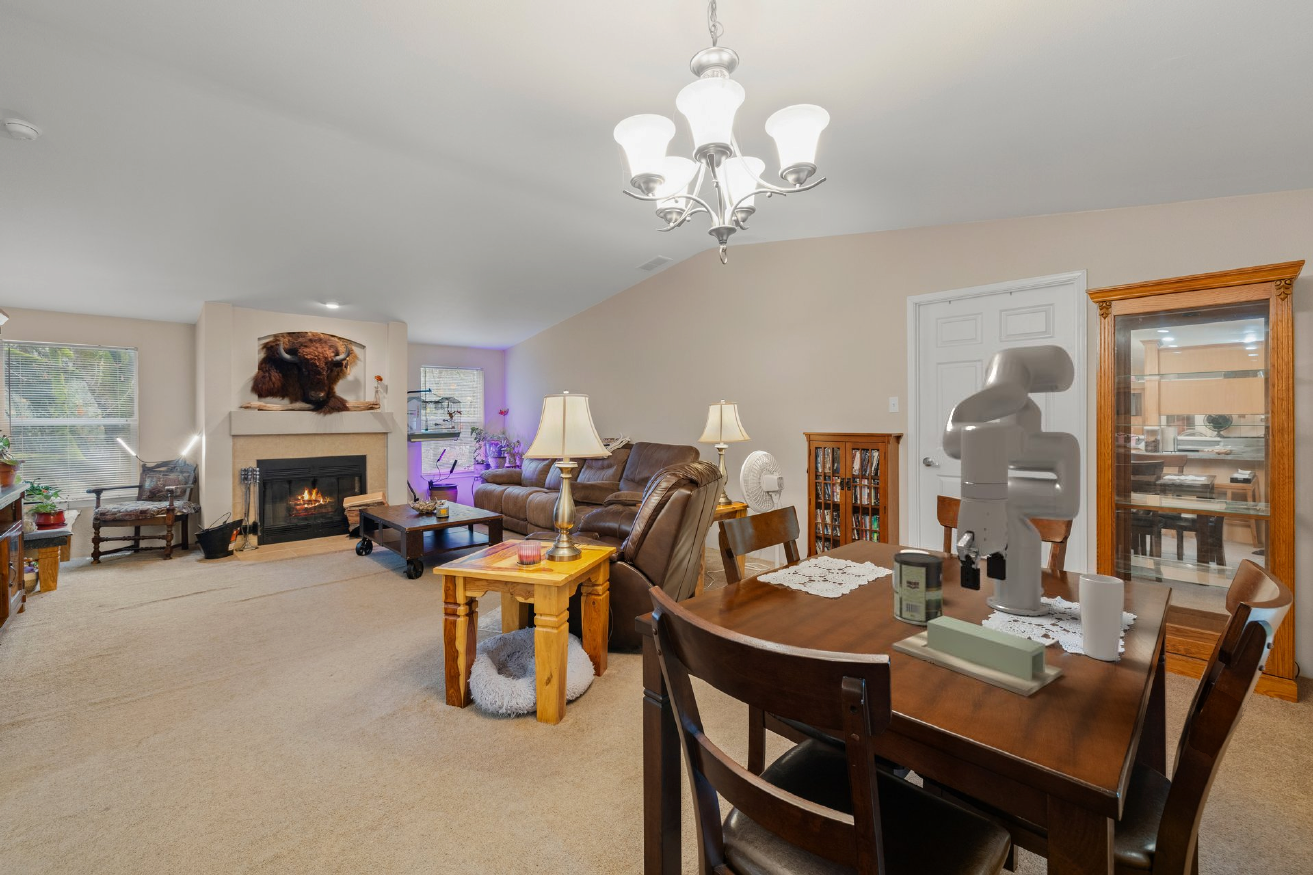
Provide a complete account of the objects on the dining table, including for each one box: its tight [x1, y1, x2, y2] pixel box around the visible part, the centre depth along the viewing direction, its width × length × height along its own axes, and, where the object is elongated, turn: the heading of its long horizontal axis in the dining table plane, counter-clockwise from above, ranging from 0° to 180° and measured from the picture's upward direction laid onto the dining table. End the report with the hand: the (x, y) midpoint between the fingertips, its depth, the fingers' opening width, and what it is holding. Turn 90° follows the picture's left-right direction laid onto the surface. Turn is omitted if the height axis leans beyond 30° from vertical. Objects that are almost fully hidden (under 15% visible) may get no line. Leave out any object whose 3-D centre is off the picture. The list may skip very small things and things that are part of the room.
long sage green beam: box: [926, 615, 1046, 681], centre depth 104 cm, size 6×18×5 cm, turn 35°
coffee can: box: [893, 552, 944, 627], centre depth 129 cm, size 10×10×14 cm
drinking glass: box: [1078, 573, 1125, 662], centre depth 108 cm, size 7×7×15 cm
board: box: [891, 630, 1063, 697], centre depth 106 cm, size 14×24×4 cm, turn 35°
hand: (983, 583), depth 104 cm, fingers open, 9 cm apart
